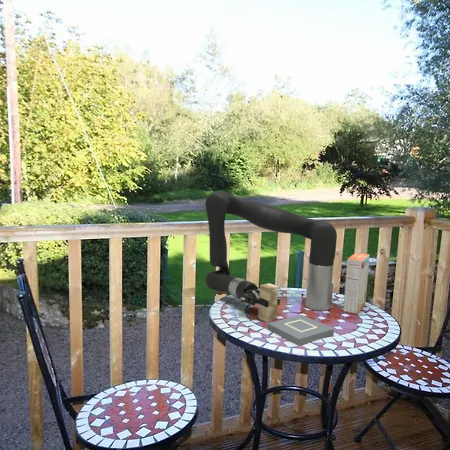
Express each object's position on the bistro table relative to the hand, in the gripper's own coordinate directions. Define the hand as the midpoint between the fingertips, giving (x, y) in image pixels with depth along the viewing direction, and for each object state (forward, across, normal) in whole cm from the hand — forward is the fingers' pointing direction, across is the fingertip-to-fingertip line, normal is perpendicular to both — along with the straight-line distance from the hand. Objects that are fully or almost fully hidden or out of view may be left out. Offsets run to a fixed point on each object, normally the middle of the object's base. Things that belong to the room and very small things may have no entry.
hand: (273, 303), depth 139 cm
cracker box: (+5, +38, +7) cm, 39 cm away
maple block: (-3, 0, +6) cm, 7 cm away
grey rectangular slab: (+11, +2, +6) cm, 13 cm away
